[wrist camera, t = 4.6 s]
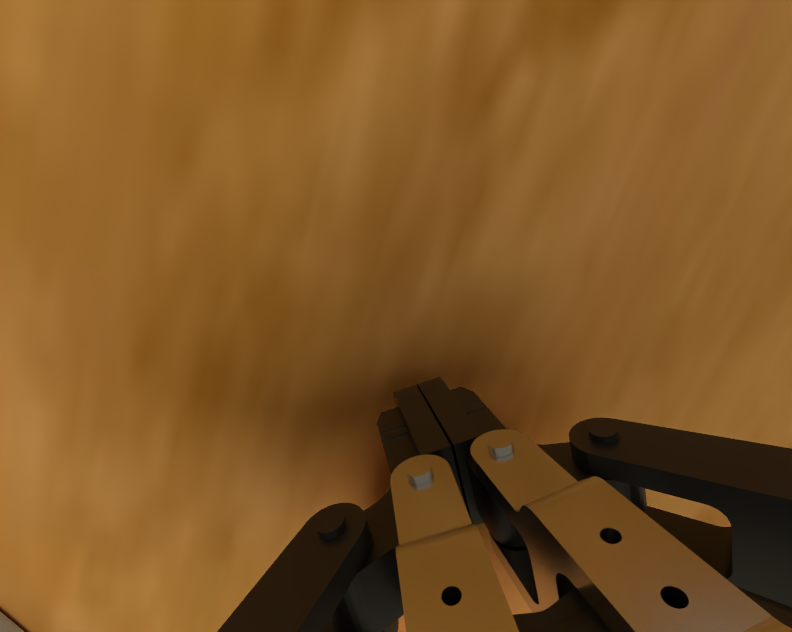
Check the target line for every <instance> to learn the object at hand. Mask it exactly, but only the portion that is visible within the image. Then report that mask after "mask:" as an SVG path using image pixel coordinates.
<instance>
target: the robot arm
mask: <svg viewBox="0 0 792 632" xmlns="http://www.w3.org/2000/svg"><path fill="white" fill-rule="evenodd" d="M393 394H394V398H395V402H396V405H397V408H394V409H390V410H387V411H384V412H381V415H380V417H379V419H378V422H377V425H378V428H379V432H380V435H381V439H382V443H383V446H384V450H385V453H386V457H387V461H388V464H389V468H390V471H391V478H390V487H389V490H388V491H387V493H386V494H385V495H384V496H383V497H382V498H381V499H380V500H379V501H378V502H377V503H375V504H374V505H372V506H371V507H369V508H368V509H366V510H364V511H363V510H362V509H361V508H360V507H359V506H357V505H355V504H352V503H338V504H334V505H331V506H328V507H326V508H324V509H322V510H320V511H319V512H317V513H316V514H315V515H313V516H312V517H311V518H310V519H309V520H308V521H307V522H306V524H305V525H304V526H303V527H302V529H301V530H300V531H299V532H298V533H297V535H296V536H295V537H294V538H293V540H292V541H291V542H290V543H289V544H288V546H287V547H286V548H285V549H284V551H283V552H282V553H281V554H280V555H279V557H278V558H277V559H276V560H275V562H274V563H273V564H272V565H271V567H270V568H269V569H268V570H267V571H266V573H265V574H264V575H263V576H262V578H261V579H260V580H259V581H258V582H257V584H256V585H255V586H254V587H253V589H252V590H251V591H250V592H249V594H248V595H247V596H246V597H245V598H244V600H243V601H242V602H241V603H240V605H239V606H238V607H237V608H236V609H235V611H234V612H233V613H232V614H231V616H230V617H229V618H228V619H227V620H226V622H225V623H224V624H223V625H222V627H221V628H220V629H219V630H218V632H397V631H398V625H399V620H398V619H399V618H400V617H401V616H403V615H404V619H405V626H406V632H792V449H790V448H784V447H778V446H772V445H766V444H760V443H754V442H748V441H742V440H736V439H730V438H724V437H718V436H713V435H707V434H701V433H695V432H689V431H683V430H677V429H671V428H665V427H659V426H653V425H647V424H641V423H635V422H629V421H623V420H617V419H611V418H592V419H587V420H584V421H581V422H579V423H577V424H576V425H574V426H573V427H572V428H571V430H570V432H569V439H570V442H567V443H558V444H548V445H537V444H535V443H534V442H533V441H532V440H531V439H530V438H528V437H527V436H526V435H525V434H523V433H521V432H518V431H515V430H508V429H506V428H505V427H504V426H503V425H502V424H501V422H500V421H499V420H498V419H497V418H496V417H495V416H494V415H493V413H492V412H491V411H490V410H489V409H487V407H486V405H485V404H484V403H483V402H481V400H480V399H479V397H478V396H477V395H476V394H475V393H474V392H473V391H470V390H468V389H465V388H462V387H459V388H456V389H453V390H449V388H448V387H447V386H446V384H445V383H444V382H443V380H442V379H441V378H440V377H439V378H435V379H432V380H429V381H426V382H423V383H419V384H417V386H416V385H413V386H410V387H407V388H404V389H400V390H397V391H394V392H393ZM645 488H646V489H650V490H654V491H657V492H661V493H665V494H669V495H673V496H677V497H680V498H684V499H688V500H692V501H696V502H699V503H703V504H707V505H710V506H712V507H714V508H716V509H718V510H719V511H721V512H722V513H723V514H724V515H725V516H726V517H727V518H728V519H729V521H730V523H731V527H719V526H715V525H712V524H708V523H705V522H701V521H698V520H694V519H691V518H687V517H684V516H680V515H677V514H673V513H670V512H666V511H663V510H659V509H656V508H652V507H649V506H647V504H646V493H645ZM482 523H485V525H486V527H487V529H488V531H489V535H490V540H491V544H492V548H493V550H494V552H495V554H496V556H497V557H498V559H499V560H500V562H501V564H502V565H503V567H504V568H505V570H506V572H507V573H508V575H509V576H510V578H511V579H512V581H513V583H514V584H515V586H516V587H517V589H518V591H519V592H520V594H521V595H522V597H523V599H524V600H525V602H526V603H527V605H528V606H529V608H530V610H531V611H532V613H524V614H515V615H512V612H511V610H510V607H509V605H508V602H507V600H506V597H505V595H504V592H503V590H502V587H501V585H500V582H499V580H498V577H497V575H496V572H495V570H494V567H493V565H492V562H491V560H490V557H489V555H488V552H487V549H486V547H485V544H484V542H483V539H482V537H481V534H480V532H479V530H478V527H477V525H479V524H482Z"/></svg>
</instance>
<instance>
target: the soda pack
mask: <svg viewBox="0 0 792 632" xmlns="http://www.w3.org/2000/svg"><path fill="white" fill-rule="evenodd" d="M0 632H24V631H23V630H22V629H21V628H20V627H18V626H17V625H16V624H15V623H14V622H12V621H11V620H10V619H9V618H8V617H6V616H5V615H4V614H3V613H2V612H0Z"/></svg>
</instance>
